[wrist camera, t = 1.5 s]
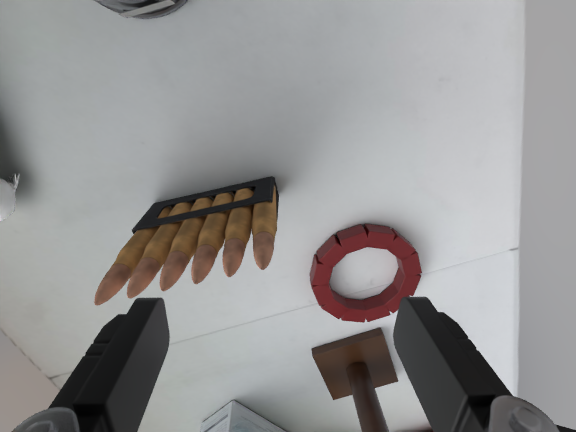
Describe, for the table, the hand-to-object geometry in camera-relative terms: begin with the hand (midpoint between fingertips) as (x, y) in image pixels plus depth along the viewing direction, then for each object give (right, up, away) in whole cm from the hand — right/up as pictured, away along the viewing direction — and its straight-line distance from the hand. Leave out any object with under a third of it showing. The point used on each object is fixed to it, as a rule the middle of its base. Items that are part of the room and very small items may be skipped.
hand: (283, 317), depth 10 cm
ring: (+7, -2, +20) cm, 21 cm away
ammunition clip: (-6, +5, +16) cm, 18 cm away
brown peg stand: (+8, -13, +25) cm, 30 cm away
